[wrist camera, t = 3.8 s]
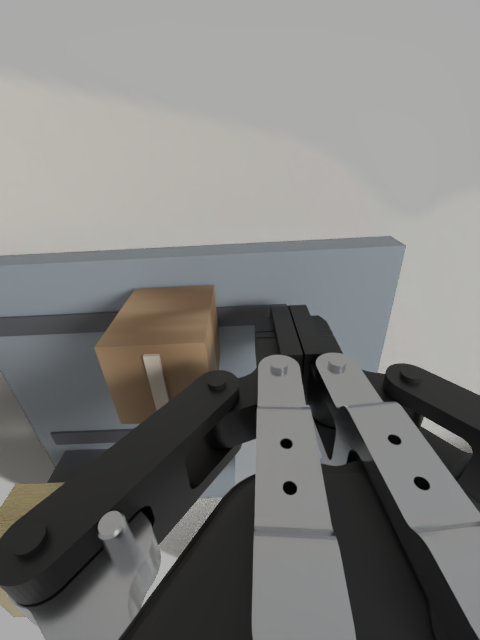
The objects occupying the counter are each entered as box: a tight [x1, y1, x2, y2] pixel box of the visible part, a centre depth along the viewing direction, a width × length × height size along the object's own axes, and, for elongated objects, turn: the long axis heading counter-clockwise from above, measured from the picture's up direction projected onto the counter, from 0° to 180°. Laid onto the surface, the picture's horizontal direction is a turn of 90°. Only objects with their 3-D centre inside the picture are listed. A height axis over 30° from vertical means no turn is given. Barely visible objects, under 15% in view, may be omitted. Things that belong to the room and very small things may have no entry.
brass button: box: [0, 482, 65, 617], centre depth 16 cm, size 6×6×4 cm
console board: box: [0, 236, 406, 498], centre depth 17 cm, size 20×18×5 cm
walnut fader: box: [94, 285, 220, 424], centre depth 12 cm, size 4×4×5 cm
